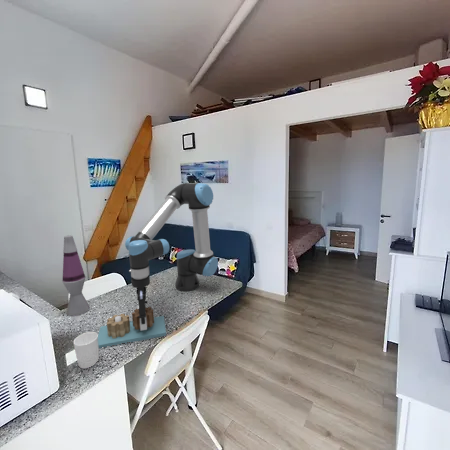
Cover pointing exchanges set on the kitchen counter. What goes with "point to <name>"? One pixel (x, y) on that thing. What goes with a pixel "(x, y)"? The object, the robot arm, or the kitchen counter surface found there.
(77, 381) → the kitchen counter surface
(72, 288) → the lamp
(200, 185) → the robot arm
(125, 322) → the maple gear
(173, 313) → the kitchen counter surface
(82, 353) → the white cup
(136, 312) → the walnut gear
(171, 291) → the kitchen counter surface
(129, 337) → the gear board
